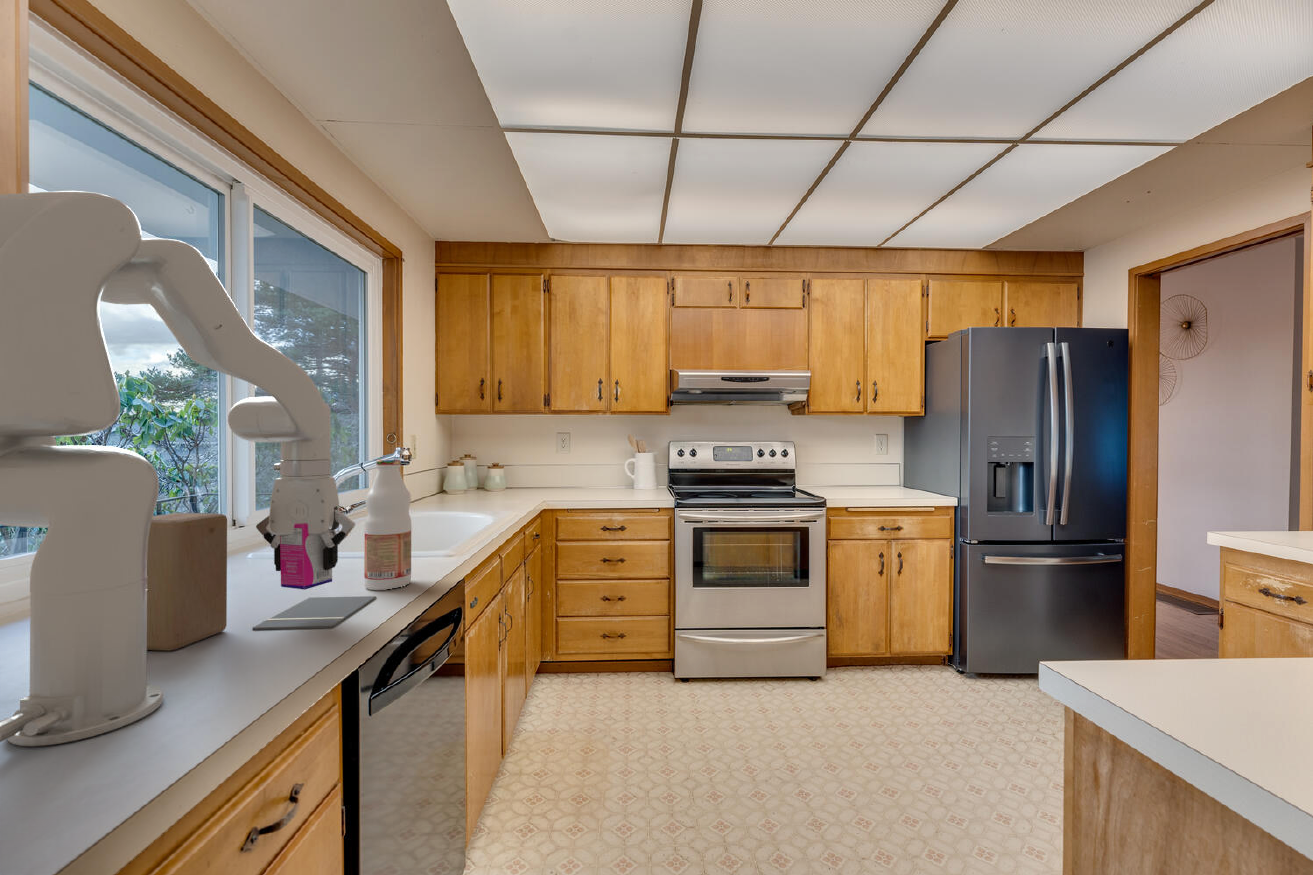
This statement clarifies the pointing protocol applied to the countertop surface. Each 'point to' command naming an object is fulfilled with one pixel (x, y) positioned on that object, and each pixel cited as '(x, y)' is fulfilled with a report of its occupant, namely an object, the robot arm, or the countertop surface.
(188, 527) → the wooden block
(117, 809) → the countertop surface
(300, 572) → the supplement box
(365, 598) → the mat
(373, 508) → the fruit juice
